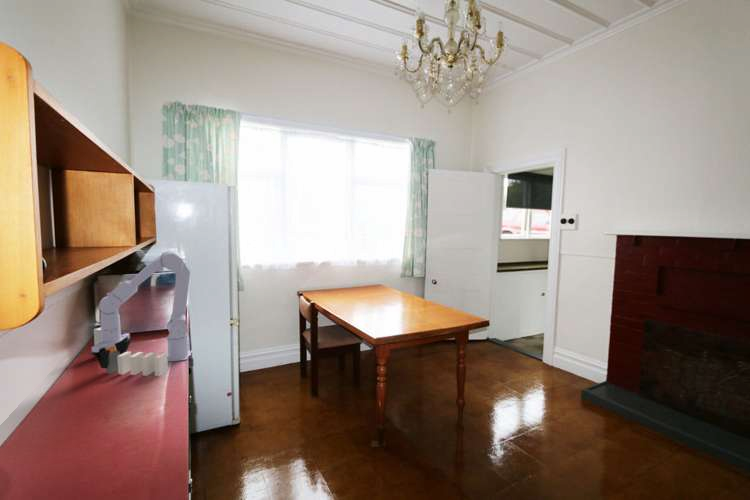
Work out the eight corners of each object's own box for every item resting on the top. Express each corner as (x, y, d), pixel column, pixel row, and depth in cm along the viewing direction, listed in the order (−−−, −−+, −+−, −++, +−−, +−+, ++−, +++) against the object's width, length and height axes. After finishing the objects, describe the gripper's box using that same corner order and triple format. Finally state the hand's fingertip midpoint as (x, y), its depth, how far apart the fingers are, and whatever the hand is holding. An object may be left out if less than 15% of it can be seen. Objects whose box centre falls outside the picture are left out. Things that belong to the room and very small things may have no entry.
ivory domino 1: (118, 374, 125) (117, 356, 124) (128, 369, 129) (127, 351, 129) (123, 374, 125) (121, 356, 124) (132, 369, 129) (131, 351, 129)
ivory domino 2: (130, 374, 125) (129, 356, 124) (139, 369, 129) (138, 351, 128) (135, 375, 124) (134, 356, 124) (144, 369, 129) (143, 352, 128)
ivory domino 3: (142, 375, 124) (141, 357, 124) (151, 370, 129) (150, 352, 128) (147, 375, 124) (146, 357, 123) (156, 370, 128) (155, 352, 128)
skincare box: (100, 358, 138) (98, 330, 137) (94, 357, 140) (92, 329, 139) (117, 353, 144) (115, 326, 143) (111, 351, 146) (109, 324, 145)
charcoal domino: (106, 373, 125) (105, 355, 125) (116, 368, 130) (115, 350, 129) (110, 374, 125) (109, 355, 125) (120, 368, 130) (119, 351, 129)
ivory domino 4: (155, 376, 124) (154, 357, 123) (163, 370, 128) (162, 352, 128) (159, 376, 124) (158, 357, 123) (167, 371, 128) (167, 353, 127)
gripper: (117, 322, 134) (119, 355, 135) (82, 334, 119) (85, 371, 120) (133, 322, 133) (135, 355, 134) (101, 335, 119) (103, 372, 120)
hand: (113, 363), depth 127 cm, fingers open, 7 cm apart
